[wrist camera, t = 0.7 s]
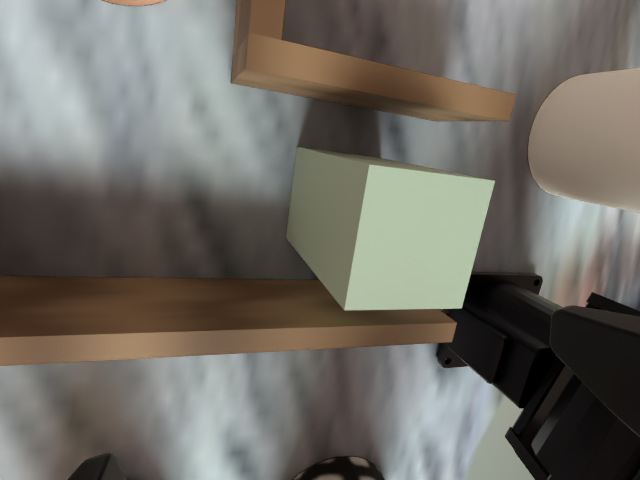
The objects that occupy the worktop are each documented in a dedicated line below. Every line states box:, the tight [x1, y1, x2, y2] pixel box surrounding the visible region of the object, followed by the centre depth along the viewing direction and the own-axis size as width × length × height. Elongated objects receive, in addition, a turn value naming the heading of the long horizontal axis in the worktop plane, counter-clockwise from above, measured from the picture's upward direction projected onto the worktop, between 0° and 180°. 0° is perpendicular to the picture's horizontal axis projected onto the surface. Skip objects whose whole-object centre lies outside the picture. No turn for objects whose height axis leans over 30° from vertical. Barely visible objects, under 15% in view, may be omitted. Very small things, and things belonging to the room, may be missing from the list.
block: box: [286, 147, 495, 310], centre depth 15 cm, size 4×4×8 cm
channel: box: [0, 0, 516, 366], centre depth 14 cm, size 20×20×5 cm
